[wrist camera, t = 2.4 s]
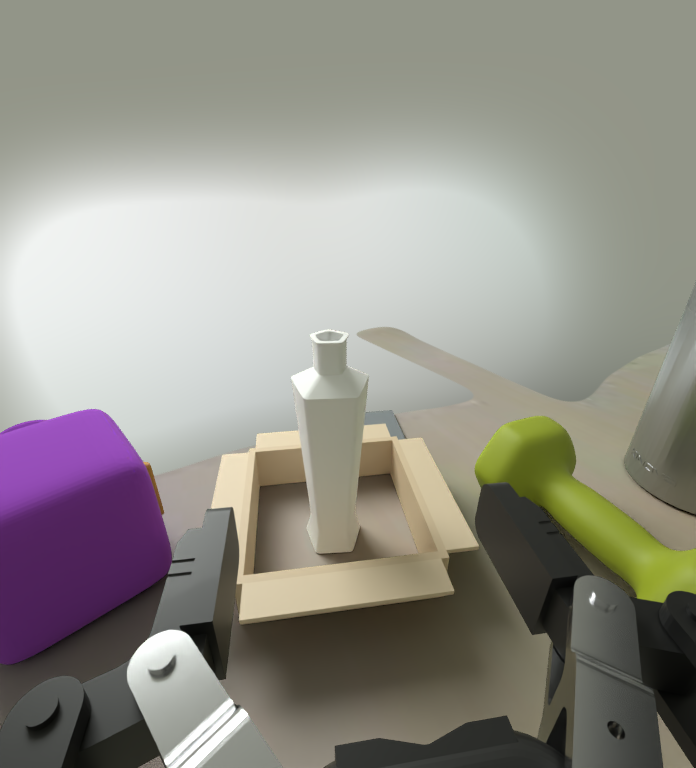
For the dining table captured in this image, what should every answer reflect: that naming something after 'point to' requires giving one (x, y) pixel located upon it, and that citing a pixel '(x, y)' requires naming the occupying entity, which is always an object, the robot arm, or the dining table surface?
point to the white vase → (331, 440)
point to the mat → (384, 422)
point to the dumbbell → (582, 507)
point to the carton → (352, 579)
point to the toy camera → (72, 528)
